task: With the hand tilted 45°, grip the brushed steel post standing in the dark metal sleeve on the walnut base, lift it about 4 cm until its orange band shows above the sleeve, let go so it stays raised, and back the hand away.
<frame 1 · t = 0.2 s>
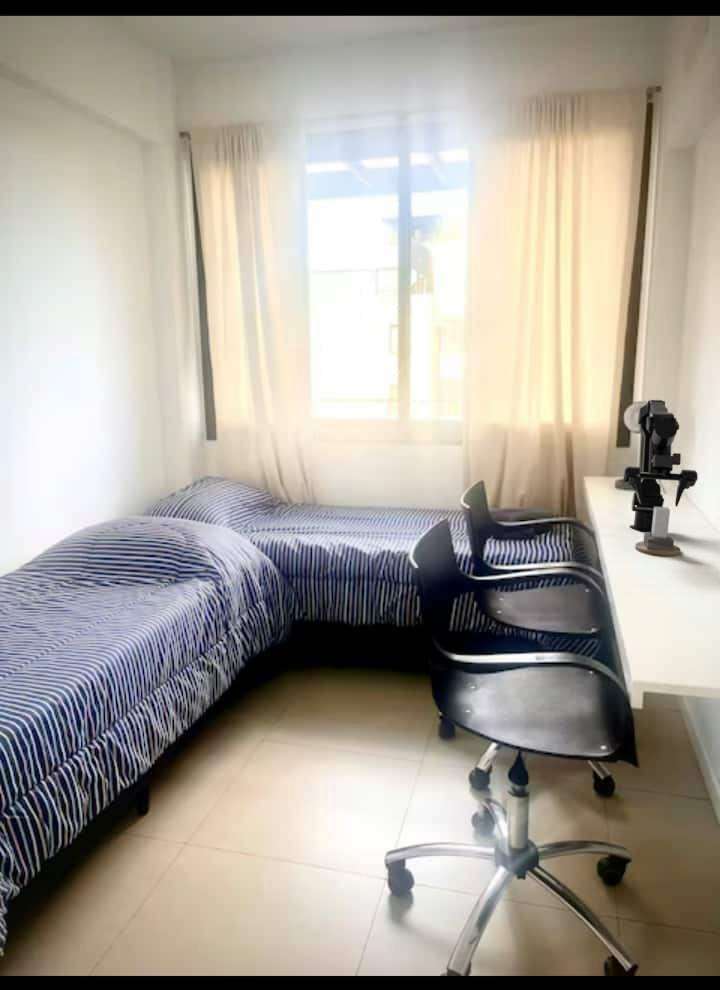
hand: (658, 504, 192), 15 cm above the table, tool tilted 35°, fingers open, 9 cm apart
post: (659, 527, 199), point 7 cm above the table, slide at 0.0 cm
stand base: (657, 550, 200), on the table
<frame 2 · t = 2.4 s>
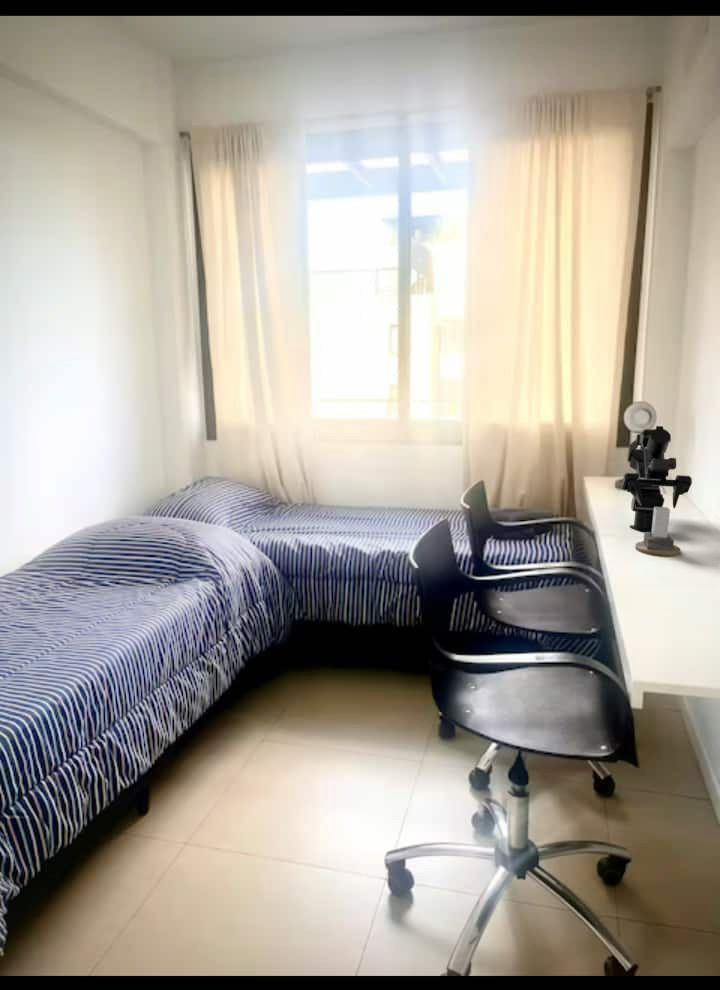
hand: (657, 506, 203), 12 cm above the table, tool tilted 45°, fingers open, 9 cm apart
nothing on the table moved.
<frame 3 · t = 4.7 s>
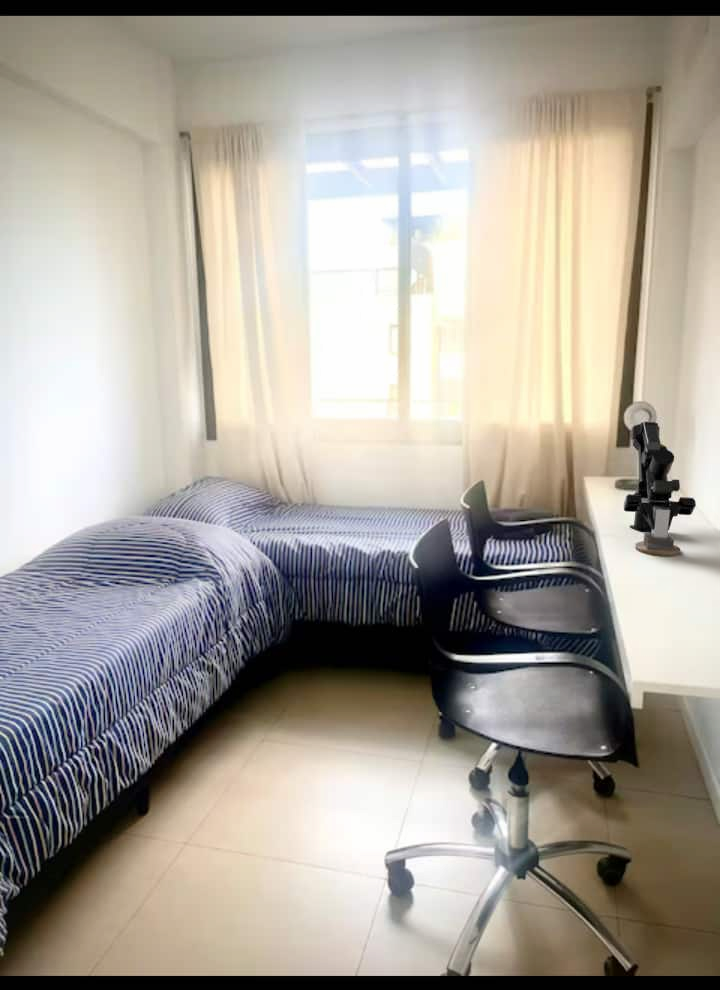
hand: (660, 529, 197), 7 cm above the table, tool tilted 45°, fingers closed on post, 4 cm apart
post: (659, 527, 199), point 7 cm above the table, slide at 0.0 cm, touching gripper
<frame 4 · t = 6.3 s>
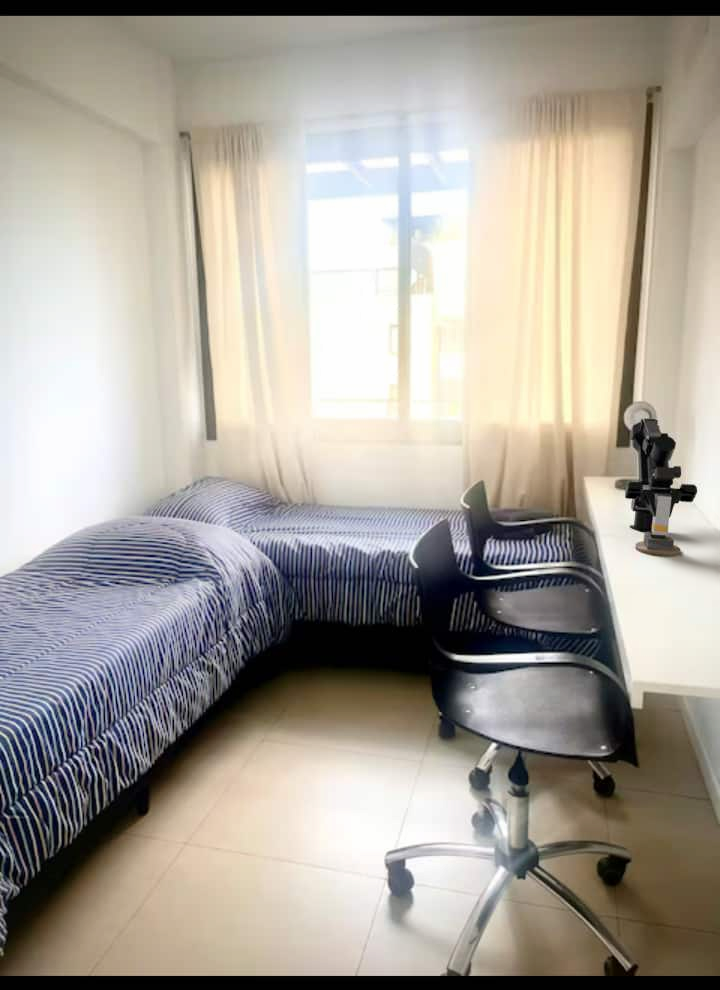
hand: (662, 516, 196), 10 cm above the table, tool tilted 45°, fingers closed on post, 4 cm apart
post: (661, 514, 198), point 11 cm above the table, slide at 3.9 cm, touching gripper
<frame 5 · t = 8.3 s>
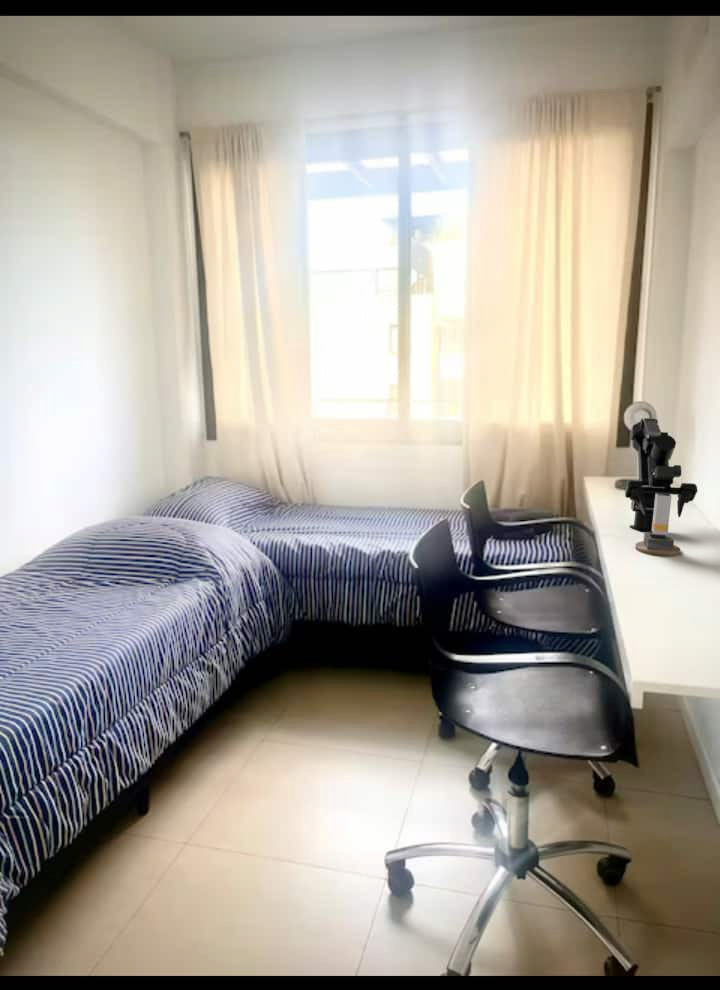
hand: (662, 515, 196), 11 cm above the table, tool tilted 45°, fingers open, 9 cm apart
post: (661, 513, 198), point 11 cm above the table, slide at 4.1 cm
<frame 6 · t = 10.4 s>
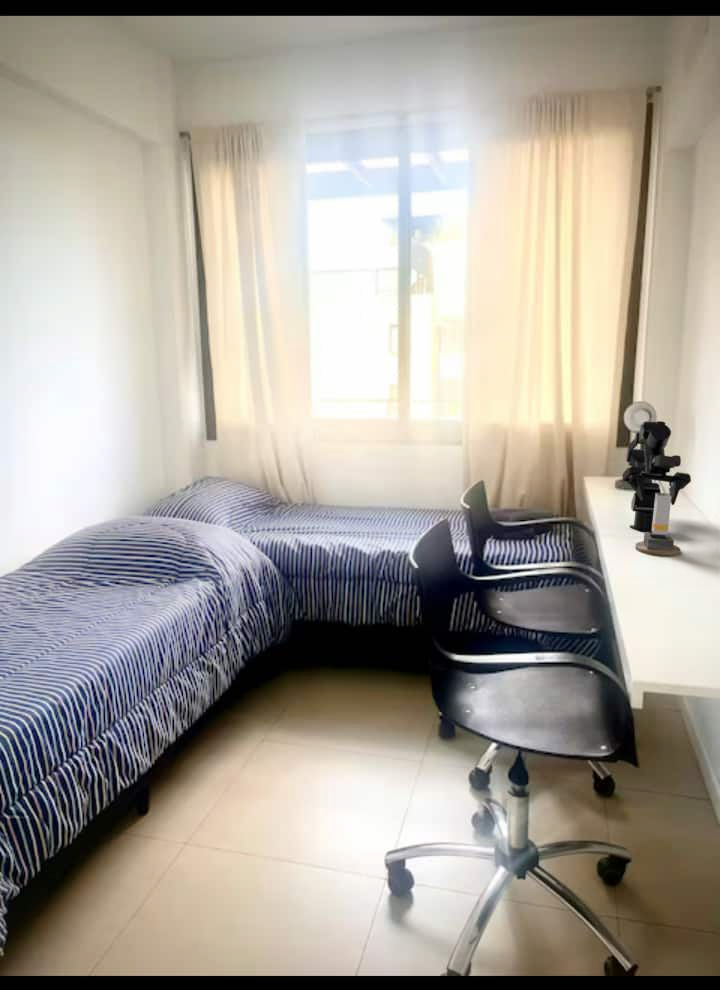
hand: (657, 502, 206), 12 cm above the table, tool tilted 40°, fingers open, 9 cm apart
nothing on the table moved.
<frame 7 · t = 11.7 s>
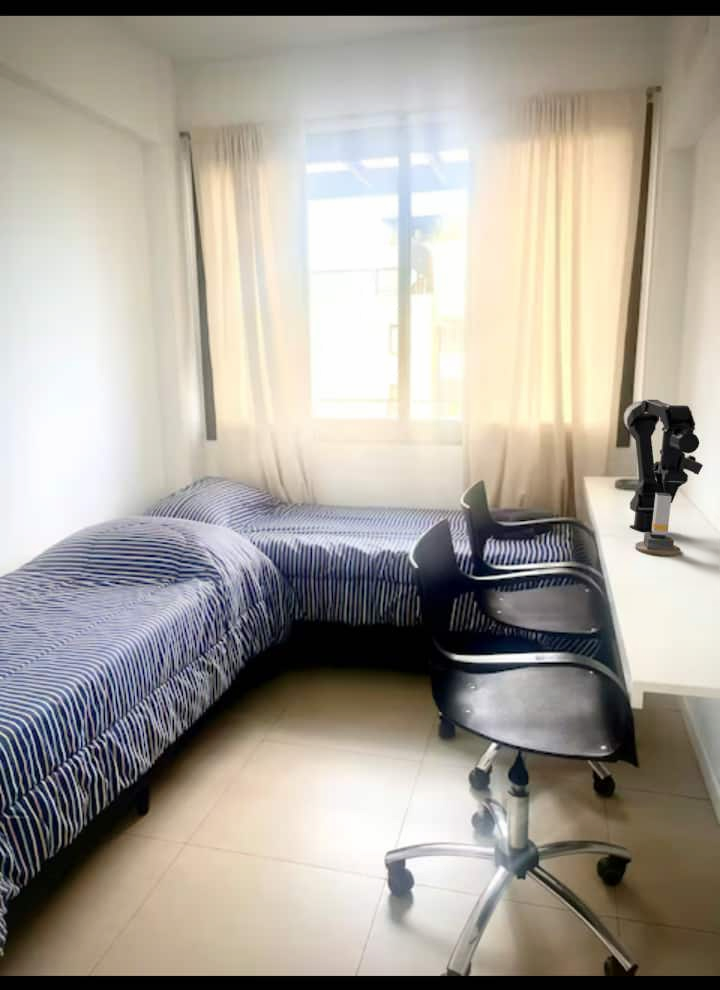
hand: (666, 499, 206), 13 cm above the table, tool pointing down, fingers open, 9 cm apart
nothing on the table moved.
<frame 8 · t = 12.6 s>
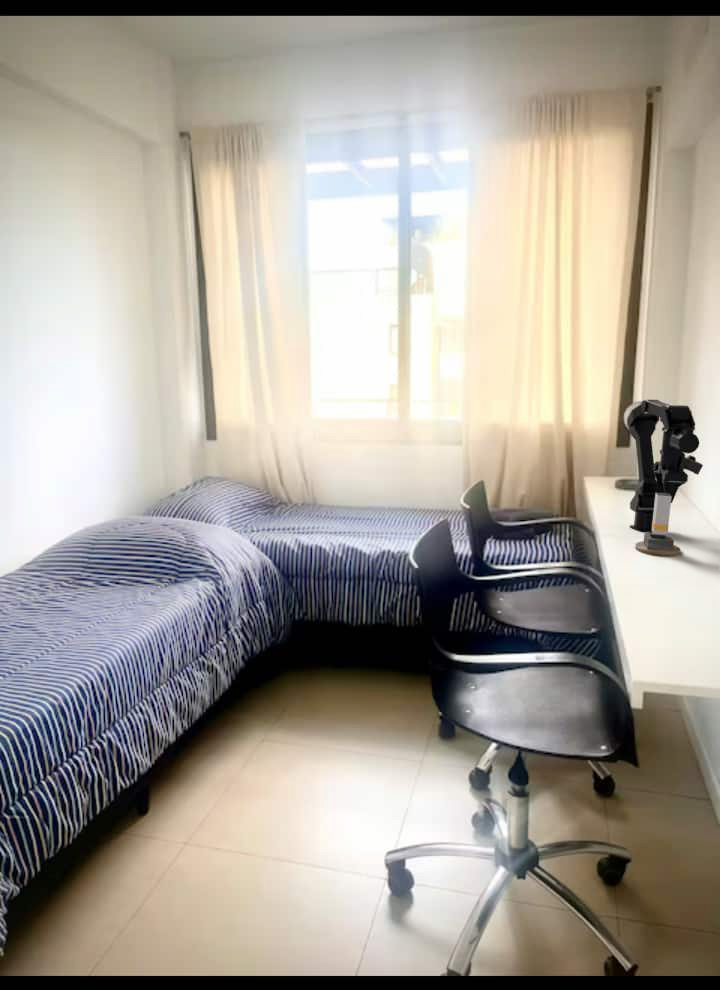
hand: (666, 499, 206), 13 cm above the table, tool pointing down, fingers open, 9 cm apart
nothing on the table moved.
at the end: post slide at 4.1 cm; the gripper is holding nothing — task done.
